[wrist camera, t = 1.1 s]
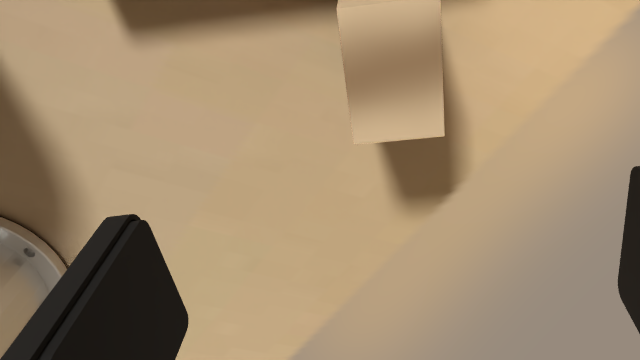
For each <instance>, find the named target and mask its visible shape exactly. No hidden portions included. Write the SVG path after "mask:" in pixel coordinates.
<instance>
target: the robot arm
mask: <svg viewBox="0 0 640 360" xmlns="http://www.w3.org/2000/svg"><path fill="white" fill-rule="evenodd" d="M618 288H619V294H620V297H621V299H622V301H623V303H624V305H625V307H626V309H627V311H628V313H629V314H630V316H631V318H632V320H633V322H634V324H635V326H636V327H637V329H638V331H639V333H640V166H636V167H634V168H633V169H632V171H631V175H630V183H629V191H628V199H627V208H626V216H625V225H624V233H623V242H622V250H621V258H620V266H619V275H618ZM187 328H188V314H187V311H186V309H185V306H184V304H183V302H182V299H181V297H180V295H179V292H178V290H177V288H176V286H175V283H174V281H173V279H172V276H171V274H170V272H169V270H168V267H167V265H166V263H165V260H164V258H163V256H162V253H161V251H160V249H159V247H158V244H157V242H156V240H155V237H154V235H153V233H152V231H151V228H150V226H149V224H148V223H147V222H146V221H145V220H141V219H140V218H139V217H138V216H137V215H135V214H130V215H121V216H112V217H107V218H106V219H105V220H104V221H103V222H102V223H101V225H100V226H99V227H98V229H97V230H96V231H95V233H94V234H93V235H92V237H91V238H90V239H89V241H88V242H87V243H86V245H85V246H84V247H83V249H82V250H81V251H80V253H79V254H78V256H77V257H76V258H75V260H74V261H73V262H72V264H71V265H70V266H69V268H68V269H66V267H65V265H64V264H63V262H62V261H61V260H60V258H59V257H58V255H57V254H56V253H55V252H54V251H53V250H52V249H51V248H50V247H49V246H48V245H47V244H46V243H45V242H44V241H42V240H41V239H40V238H39V237H37V236H36V235H35V234H33V233H32V232H30V231H29V230H27V229H25V228H23V227H22V226H20V225H18V224H16V223H14V222H11V221H9V220H7V219H4V218H2V217H0V360H175V358H176V356H177V354H178V351H179V349H180V346H181V344H182V341H183V339H184V336H185V334H186V331H187Z"/></svg>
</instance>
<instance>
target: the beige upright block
mask: <svg viewBox="0 0 640 360" xmlns="http://www.w3.org/2000/svg"><path fill="white" fill-rule="evenodd" d="M336 10H337V18H338V26H339V33H340V41H341V49H342V57H343V65H344V73H345V81H346V89H347V97H348V105H349V113H350V121H351V129H352V137H353V144H354V145H356V144H367V143H378V142H389V141H399V140H410V139H421V138H431V137H442V136H445V134H444V100H443V67H442V34H441V0H338V4H337V8H336Z"/></svg>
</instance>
